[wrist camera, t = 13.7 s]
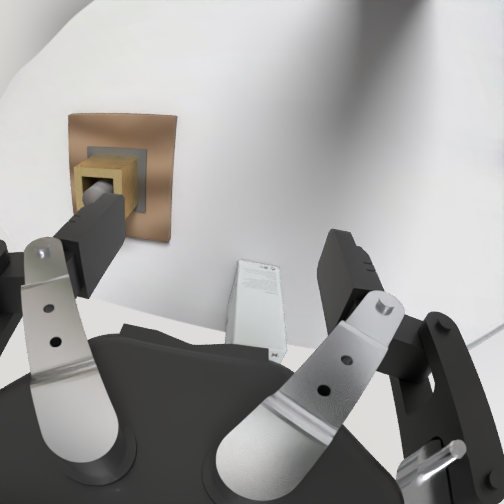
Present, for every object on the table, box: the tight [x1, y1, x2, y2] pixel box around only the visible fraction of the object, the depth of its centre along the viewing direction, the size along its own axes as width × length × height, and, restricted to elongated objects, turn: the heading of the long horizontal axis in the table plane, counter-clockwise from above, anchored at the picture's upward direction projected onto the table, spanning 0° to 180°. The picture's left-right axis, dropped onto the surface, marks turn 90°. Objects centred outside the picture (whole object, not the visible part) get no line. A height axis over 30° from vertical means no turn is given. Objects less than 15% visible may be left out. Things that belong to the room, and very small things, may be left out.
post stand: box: [68, 113, 177, 242], centre depth 33 cm, size 16×14×8 cm
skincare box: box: [225, 259, 287, 364], centre depth 39 cm, size 8×6×15 cm
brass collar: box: [74, 155, 138, 219], centre depth 33 cm, size 6×6×5 cm
